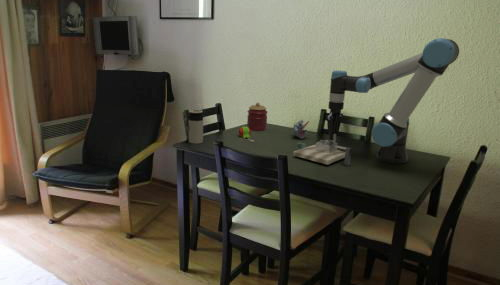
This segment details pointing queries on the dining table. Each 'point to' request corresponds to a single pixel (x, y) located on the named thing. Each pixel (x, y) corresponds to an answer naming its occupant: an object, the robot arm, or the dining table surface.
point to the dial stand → (346, 155)
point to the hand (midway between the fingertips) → (332, 145)
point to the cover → (326, 146)
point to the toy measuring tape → (245, 133)
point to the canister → (257, 118)
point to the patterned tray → (317, 154)
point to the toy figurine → (299, 129)
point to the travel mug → (195, 126)
